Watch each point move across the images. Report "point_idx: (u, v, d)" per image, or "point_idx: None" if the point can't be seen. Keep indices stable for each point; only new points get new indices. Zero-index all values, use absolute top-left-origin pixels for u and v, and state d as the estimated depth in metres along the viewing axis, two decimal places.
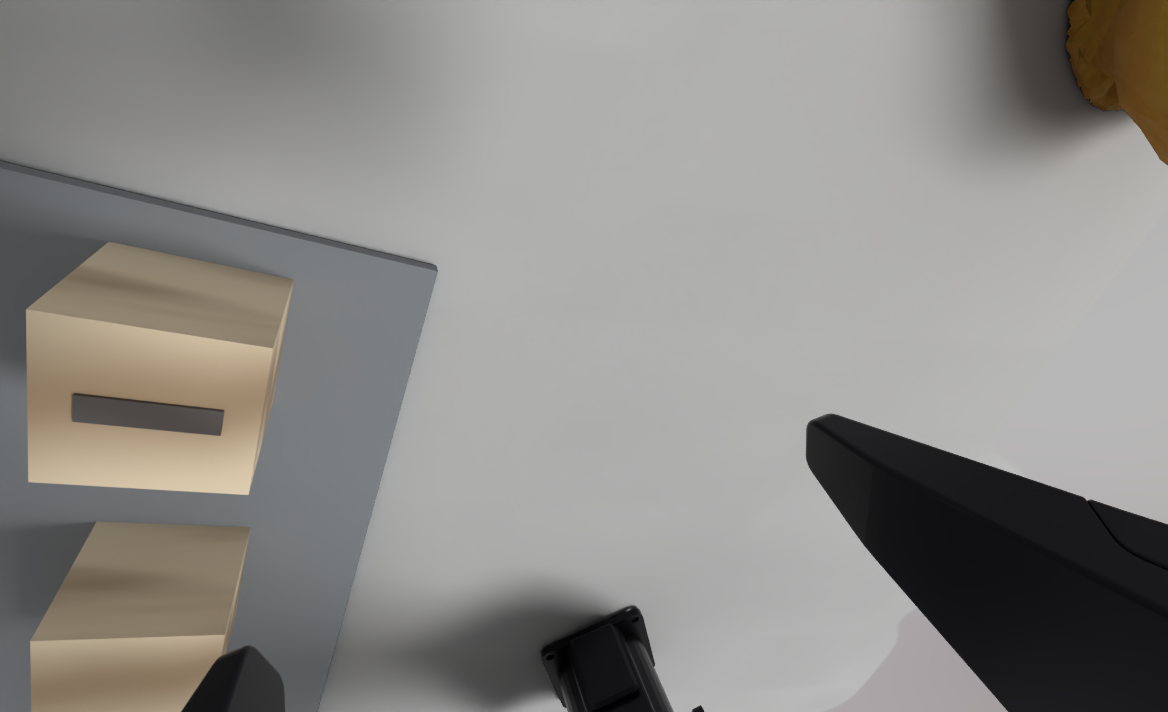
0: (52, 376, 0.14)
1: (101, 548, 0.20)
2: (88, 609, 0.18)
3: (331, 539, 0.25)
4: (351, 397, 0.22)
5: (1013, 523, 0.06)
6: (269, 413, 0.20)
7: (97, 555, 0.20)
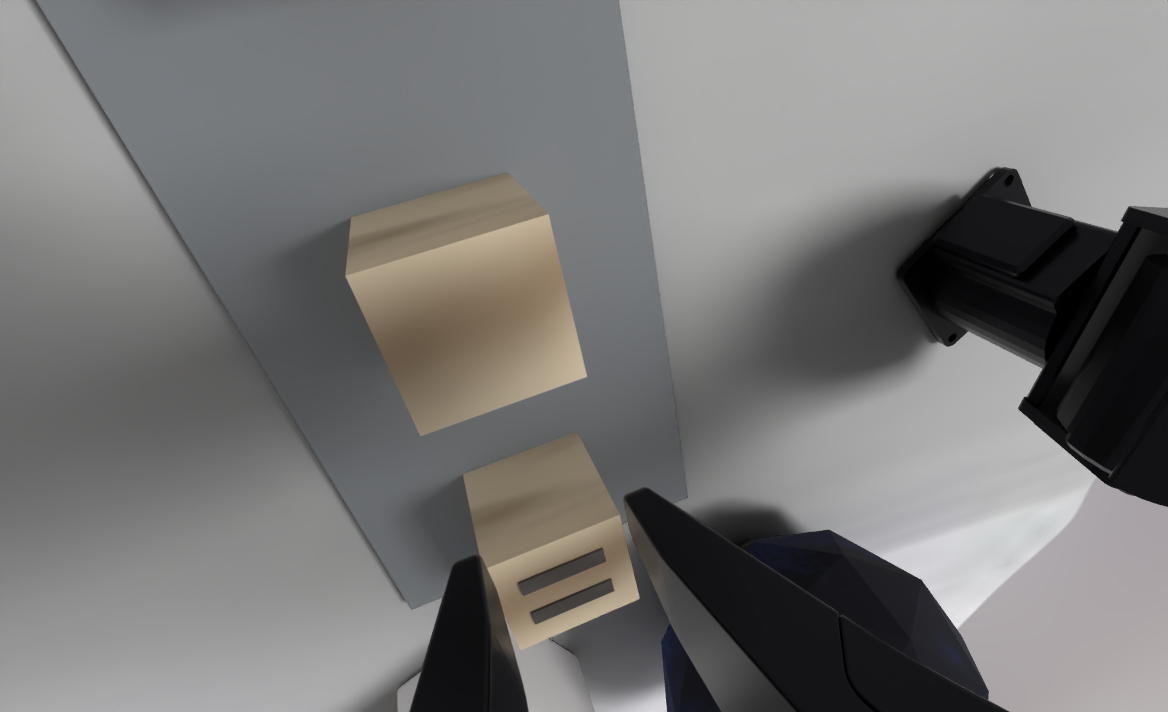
0: None
1: (369, 224, 0.16)
2: (387, 247, 0.14)
3: (602, 161, 0.19)
4: None
5: (757, 641, 0.06)
6: None
7: (368, 227, 0.16)
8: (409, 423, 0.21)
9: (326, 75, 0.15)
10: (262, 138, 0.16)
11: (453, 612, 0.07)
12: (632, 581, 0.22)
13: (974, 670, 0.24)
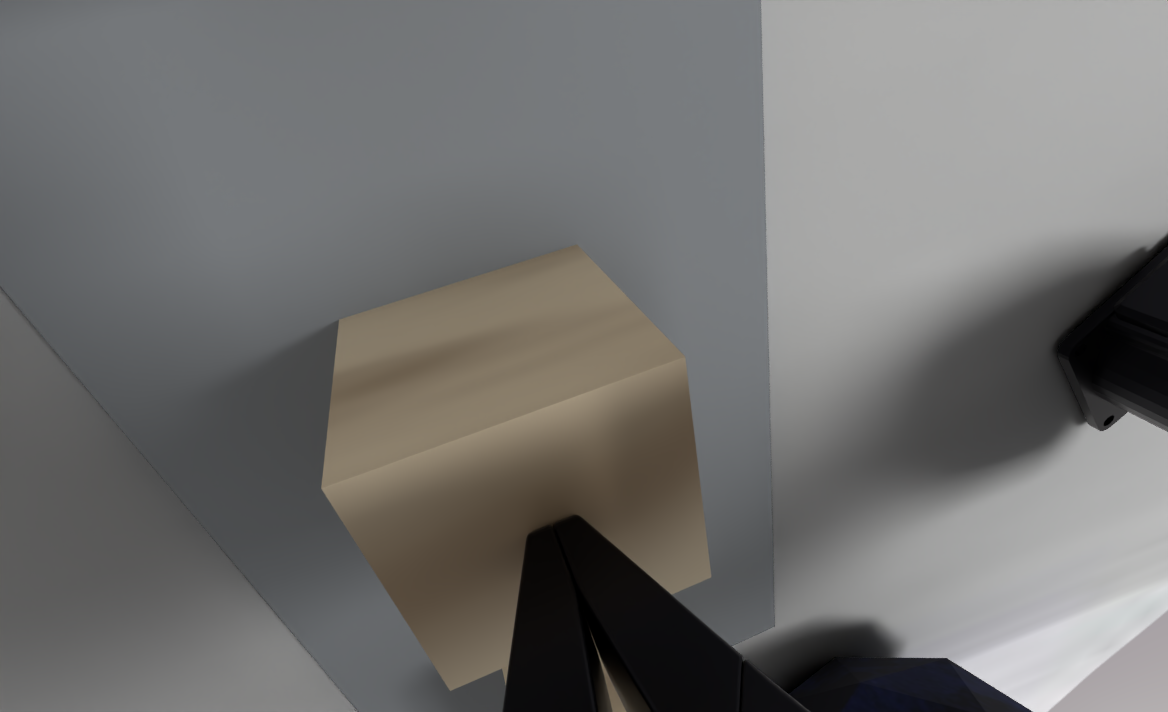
0: None
1: (366, 340, 0.10)
2: (398, 410, 0.08)
3: (712, 224, 0.13)
4: None
5: (658, 687, 0.06)
6: None
7: (365, 349, 0.10)
8: None
9: (294, 104, 0.09)
10: (190, 208, 0.10)
11: (536, 578, 0.07)
12: None
13: None
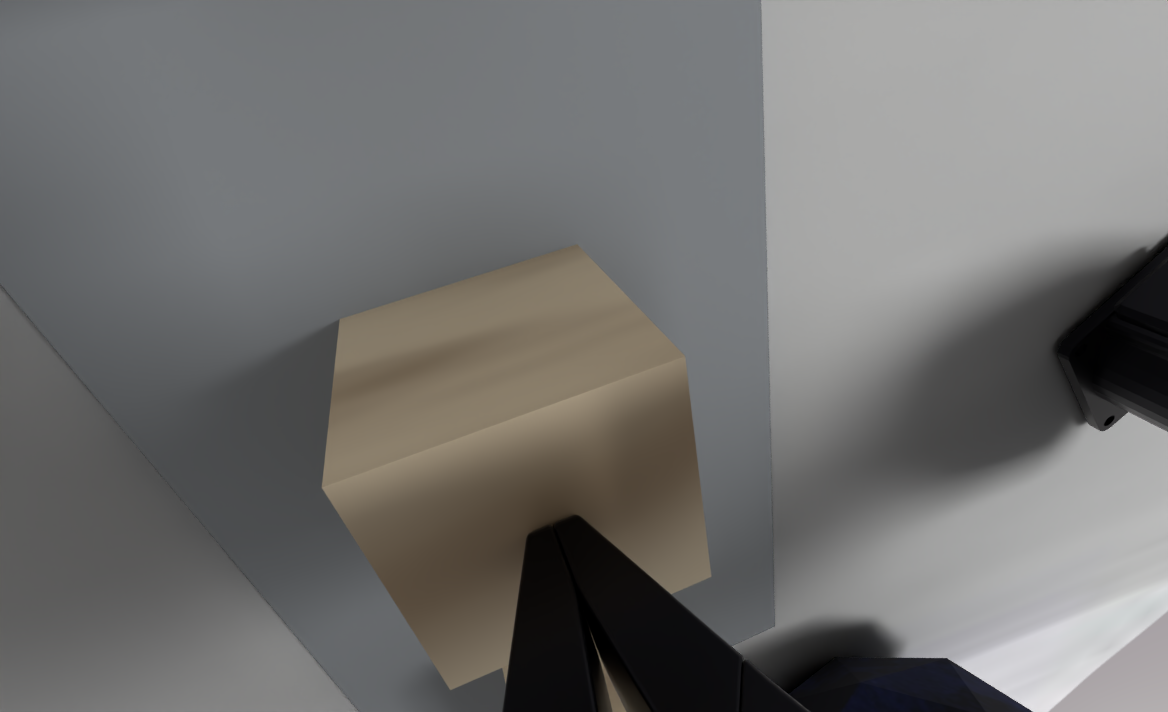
0: None
1: (366, 340, 0.10)
2: (398, 410, 0.08)
3: (712, 224, 0.13)
4: None
5: (658, 687, 0.06)
6: None
7: (366, 348, 0.10)
8: None
9: (295, 104, 0.09)
10: (191, 207, 0.10)
11: (536, 578, 0.07)
12: None
13: None
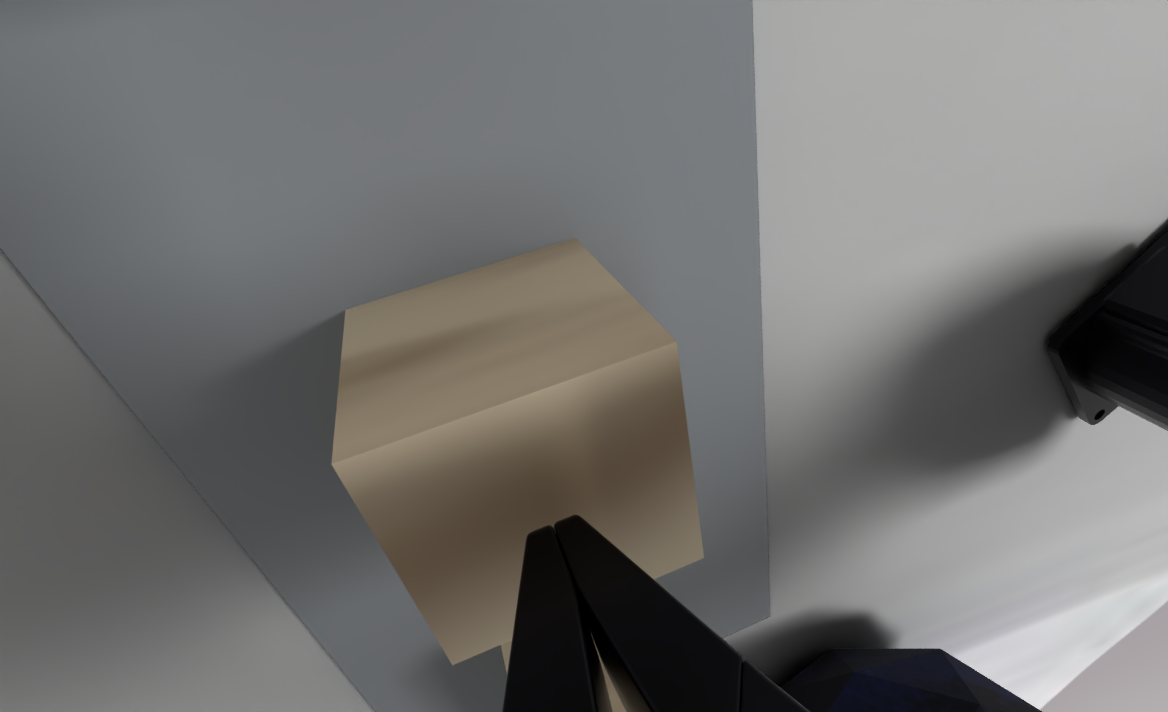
0: None
1: (372, 329, 0.11)
2: (403, 394, 0.09)
3: (706, 219, 0.13)
4: None
5: (658, 687, 0.06)
6: None
7: (371, 337, 0.10)
8: None
9: (304, 101, 0.10)
10: (204, 201, 0.10)
11: (536, 578, 0.08)
12: None
13: None
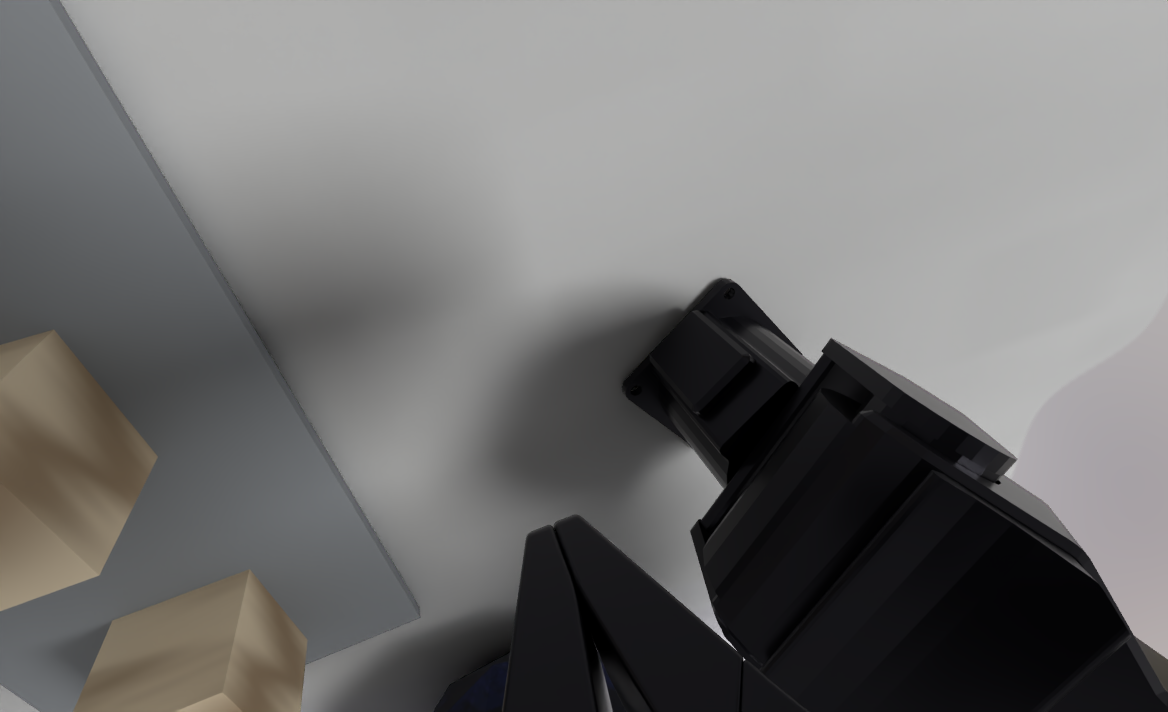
0: None
1: None
2: None
3: (180, 310, 0.17)
4: None
5: (658, 688, 0.06)
6: None
7: None
8: None
9: None
10: None
11: (536, 578, 0.07)
12: None
13: None
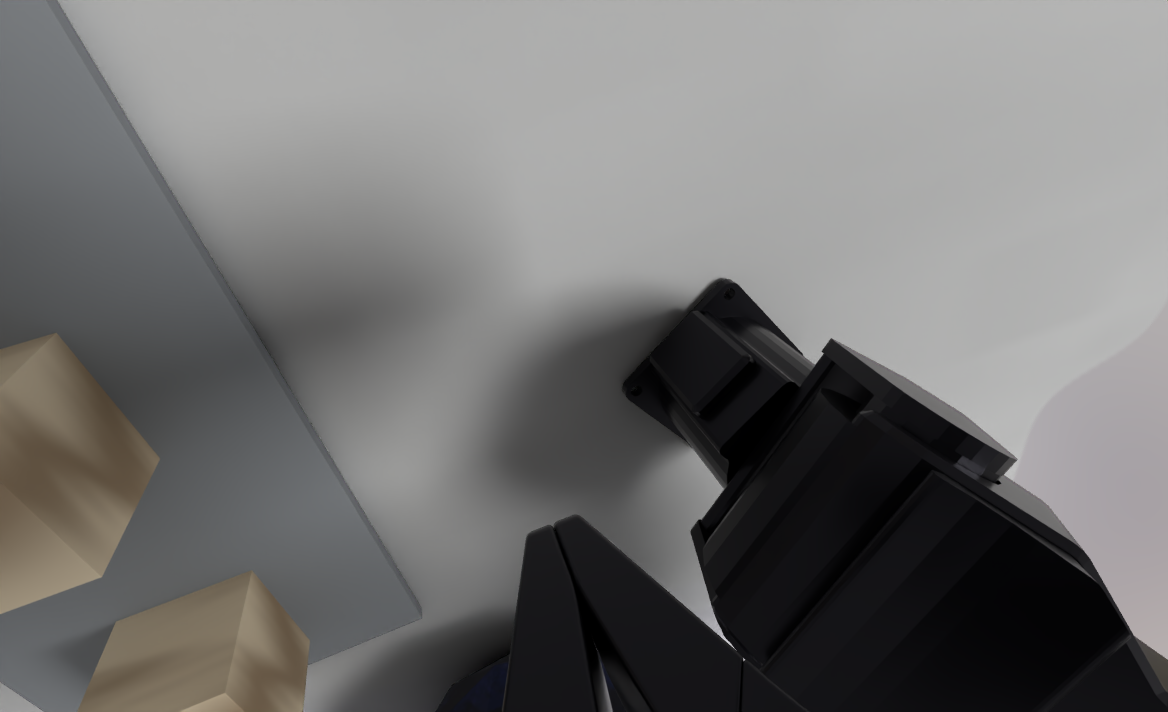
0: None
1: None
2: None
3: (181, 313, 0.17)
4: None
5: (658, 687, 0.06)
6: None
7: None
8: None
9: None
10: None
11: (536, 578, 0.07)
12: None
13: None
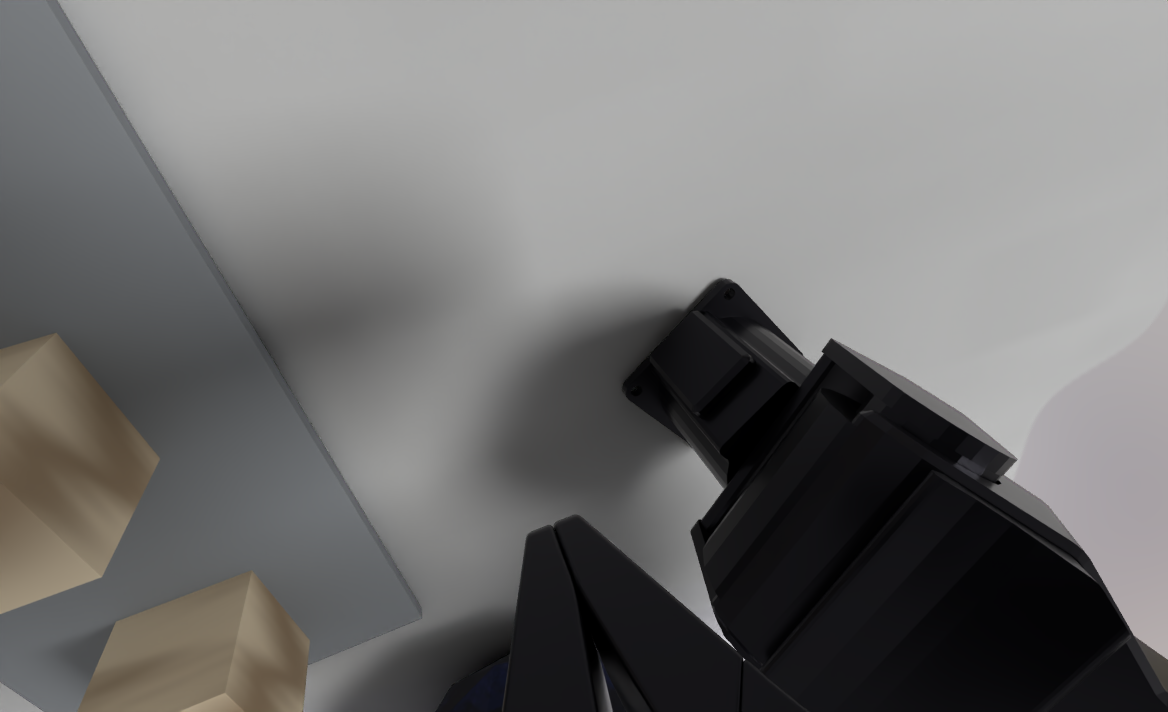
0: None
1: None
2: None
3: (181, 313, 0.17)
4: None
5: (658, 687, 0.06)
6: None
7: None
8: None
9: None
10: None
11: (536, 578, 0.07)
12: None
13: None
